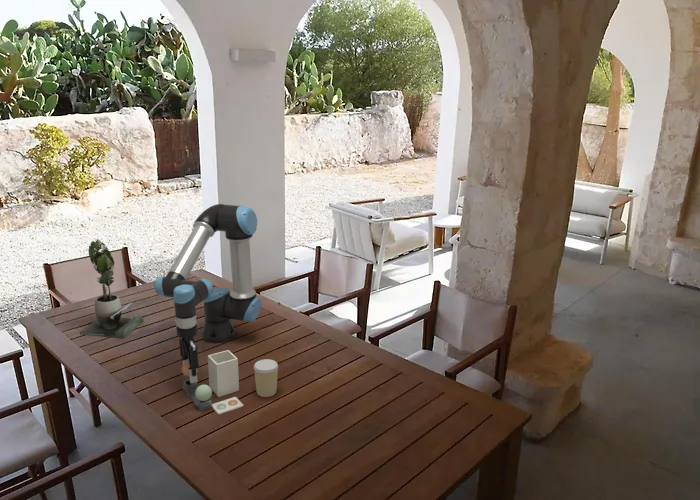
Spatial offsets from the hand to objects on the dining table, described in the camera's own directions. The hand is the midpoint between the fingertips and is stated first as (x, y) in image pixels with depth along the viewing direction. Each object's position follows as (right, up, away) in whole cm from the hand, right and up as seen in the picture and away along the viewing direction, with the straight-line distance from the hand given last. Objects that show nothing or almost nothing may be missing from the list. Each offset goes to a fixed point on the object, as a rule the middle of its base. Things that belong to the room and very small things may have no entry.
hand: (190, 378), depth 225 cm
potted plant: (-52, +13, +51) cm, 74 cm away
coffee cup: (+30, -6, +1) cm, 30 cm away
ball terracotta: (0, +1, 0) cm, 1 cm away
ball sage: (+8, -6, -11) cm, 15 cm away
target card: (+17, -8, -10) cm, 21 cm away
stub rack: (+4, -6, -5) cm, 9 cm away
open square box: (+13, -5, +2) cm, 14 cm away
